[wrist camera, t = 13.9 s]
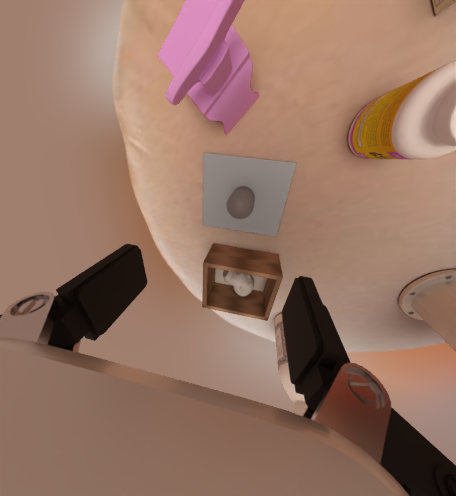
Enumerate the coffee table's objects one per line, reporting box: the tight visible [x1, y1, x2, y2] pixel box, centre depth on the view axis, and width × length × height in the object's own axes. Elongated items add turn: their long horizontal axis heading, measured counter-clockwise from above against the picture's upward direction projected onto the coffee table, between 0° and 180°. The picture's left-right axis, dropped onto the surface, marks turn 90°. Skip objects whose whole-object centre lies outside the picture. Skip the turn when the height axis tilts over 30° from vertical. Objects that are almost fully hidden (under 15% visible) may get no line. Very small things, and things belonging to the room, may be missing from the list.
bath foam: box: [274, 313, 307, 416], centre depth 33 cm, size 7×7×20 cm
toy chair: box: [158, 0, 260, 135], centre depth 15 cm, size 8×9×15 cm
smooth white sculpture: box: [223, 270, 254, 296], centre depth 36 cm, size 4×8×5 cm
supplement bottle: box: [348, 60, 456, 160], centre depth 16 cm, size 7×7×13 cm
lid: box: [203, 153, 296, 237], centre depth 26 cm, size 14×12×6 cm
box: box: [202, 244, 283, 321], centre depth 33 cm, size 14×12×7 cm
